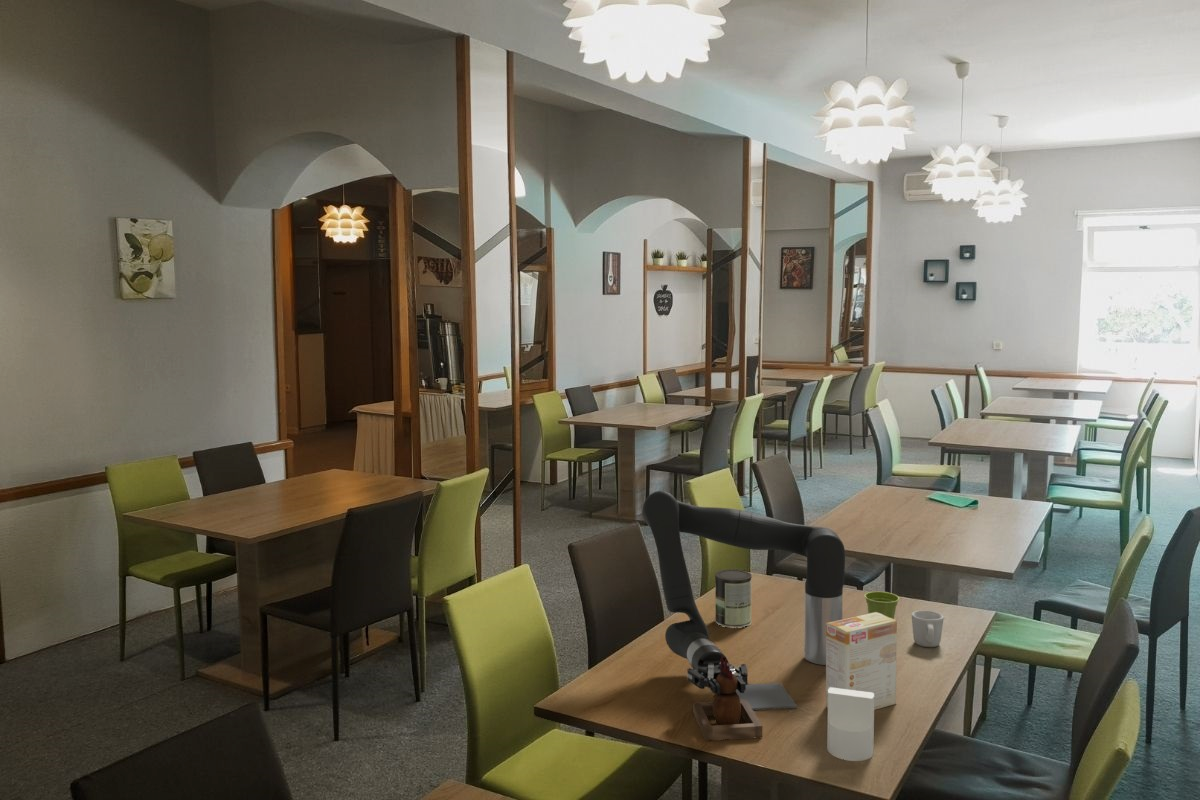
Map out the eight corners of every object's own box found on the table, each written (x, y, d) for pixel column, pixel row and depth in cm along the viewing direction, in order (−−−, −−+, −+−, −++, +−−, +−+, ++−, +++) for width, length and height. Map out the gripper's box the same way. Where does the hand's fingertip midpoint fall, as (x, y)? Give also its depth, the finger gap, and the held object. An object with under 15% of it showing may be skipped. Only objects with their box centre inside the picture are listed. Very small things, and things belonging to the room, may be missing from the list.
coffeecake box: (874, 693, 212) (875, 611, 210) (897, 704, 206) (898, 620, 204) (824, 706, 205) (824, 621, 204) (846, 718, 199) (847, 631, 197)
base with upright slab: (824, 756, 182) (825, 698, 181) (830, 737, 191) (830, 681, 190) (871, 764, 179) (872, 704, 178) (875, 743, 187) (875, 687, 186)
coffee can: (708, 624, 261) (708, 575, 259) (725, 614, 269) (725, 567, 268) (741, 631, 255) (741, 581, 253) (757, 620, 263) (757, 572, 262)
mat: (780, 684, 218) (780, 682, 218) (797, 708, 205) (797, 705, 205) (726, 687, 216) (726, 685, 216) (739, 711, 204) (739, 709, 203)
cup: (947, 654, 235) (947, 624, 234) (914, 652, 237) (915, 622, 236) (940, 639, 246) (941, 610, 245) (909, 638, 247) (909, 609, 247)
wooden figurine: (710, 719, 200) (709, 652, 198) (736, 717, 200) (736, 651, 199) (716, 733, 193) (716, 664, 192) (743, 731, 194) (743, 662, 192)
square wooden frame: (746, 710, 204) (746, 699, 203) (762, 737, 191) (762, 726, 191) (693, 713, 203) (693, 702, 202) (705, 740, 190) (705, 729, 189)
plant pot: (902, 624, 258) (903, 594, 257) (893, 634, 250) (894, 603, 249) (869, 619, 263) (869, 589, 262) (859, 628, 255) (860, 598, 254)
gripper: (676, 646, 208) (698, 675, 191) (736, 641, 211) (763, 669, 194) (676, 678, 209) (698, 710, 192) (736, 673, 211) (763, 703, 195)
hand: (730, 689), depth 193 cm, fingers closed on wooden figurine, 4 cm apart
